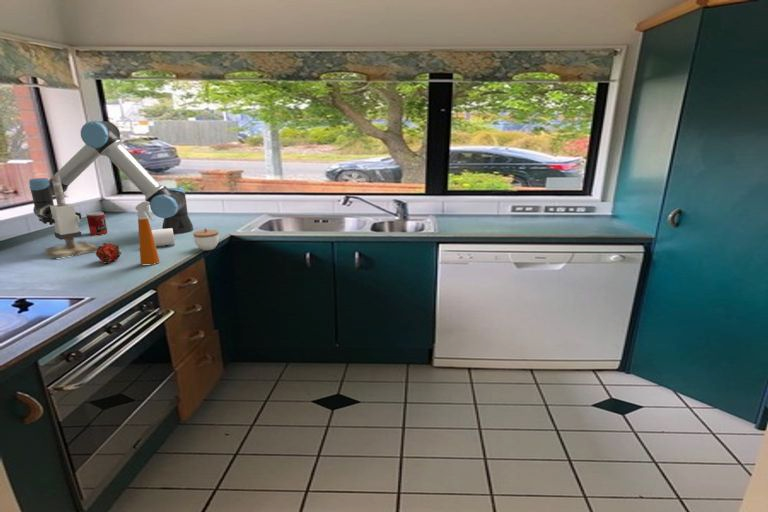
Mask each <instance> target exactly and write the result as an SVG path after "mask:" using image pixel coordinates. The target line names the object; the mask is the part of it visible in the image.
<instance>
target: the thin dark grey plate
mask: <svg viewBox="0 0 768 512" xmlns="http://www.w3.org/2000/svg"><path fill="white" fill-rule="evenodd" d="M53 233H54V237H55V238H56V239H59V240H63V241H64V239H69V238H74V239H75V238H80V237H83V236H82V235H83V234H82V231H80V230H79V232H76V233H70V234H64V235H60V234H58V233H56V231H55V232H53Z"/></svg>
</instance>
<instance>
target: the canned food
mask: <svg viewBox="0 0 768 512" xmlns="http://www.w3.org/2000/svg"><path fill="white" fill-rule="evenodd" d="M105 218H106V216H105V213H104V211H93V212H88V213H86V220H87V225H88V229H89V230H88V231H89V234H90V235H91V236H93V235H98V236H103V235H102V234H104V235H106V233H107V234H108V229H107V222H106V219H105Z"/></svg>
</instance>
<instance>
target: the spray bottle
mask: <svg viewBox="0 0 768 512" xmlns="http://www.w3.org/2000/svg"><path fill="white" fill-rule="evenodd" d="M149 204H150V203H149V202H148V201H142V202H140V203H138V204H137V205H136V206H135V210H136V211H137V221H138V222H137V223H138V225H137V226H138V243H139V259H140V265H141V264H154V263H157V262H159V261H160V257H159V254H158V250H157V247H156V246H155V242H154V238H153V235H152V231H151V230H152V227H151V224H150V220H151V222H154V221H155V220H154V217H153V215H152V214H151V213H152V212H151V211H150V205H149ZM149 219H150V220H149ZM159 263H160V262H159Z"/></svg>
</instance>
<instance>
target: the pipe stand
mask: <svg viewBox="0 0 768 512" xmlns="http://www.w3.org/2000/svg"><path fill="white" fill-rule="evenodd" d="M51 178H52V182H53V187H54V191H55V195H54V197H55V199H56V205H58V207H61V206H66V204H67V203H66V199H65V195H64V192H63V189H62V184H61V179H60V176H54V175H52V176H51V177H50V179H51ZM63 241H65V244H62V245H57V246H51V247H46V248H44V252H46V253H45V254H47V253H48V254H49V255H48V254H47V255H48V256H50V255H51V256H50V257H52V256H53V257H55V258H62V257H67V258H69V257H68V256H72V255H77V256H80V255H79V254H82V255H84V254H83V253H87V254H90V253H89V252H92V253H95V252H94V251H97V249H98V247H97V246H96V245H94V244H92V243H90V242H87V241H80V242H75V238H69V239H63ZM53 257H52V258H53ZM72 257H73V256H72ZM55 258H54V259H55ZM62 259H63V258H62Z"/></svg>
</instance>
